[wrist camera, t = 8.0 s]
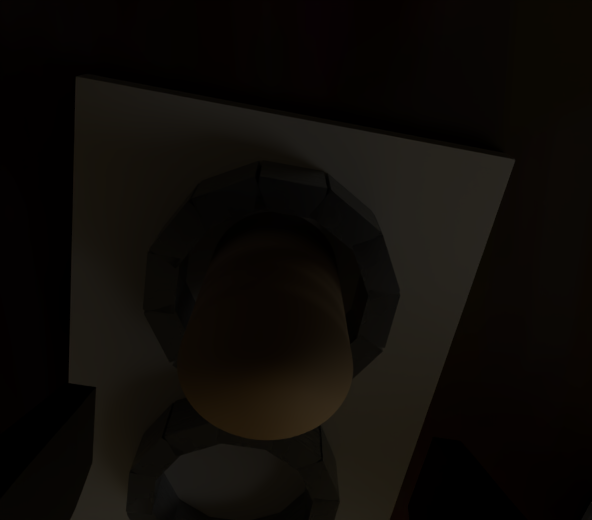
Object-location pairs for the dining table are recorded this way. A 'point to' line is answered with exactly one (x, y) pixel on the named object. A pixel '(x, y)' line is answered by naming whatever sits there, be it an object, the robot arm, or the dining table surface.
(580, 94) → the dining table surface
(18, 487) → the robot arm
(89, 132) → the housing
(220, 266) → the tan rounded capsule
